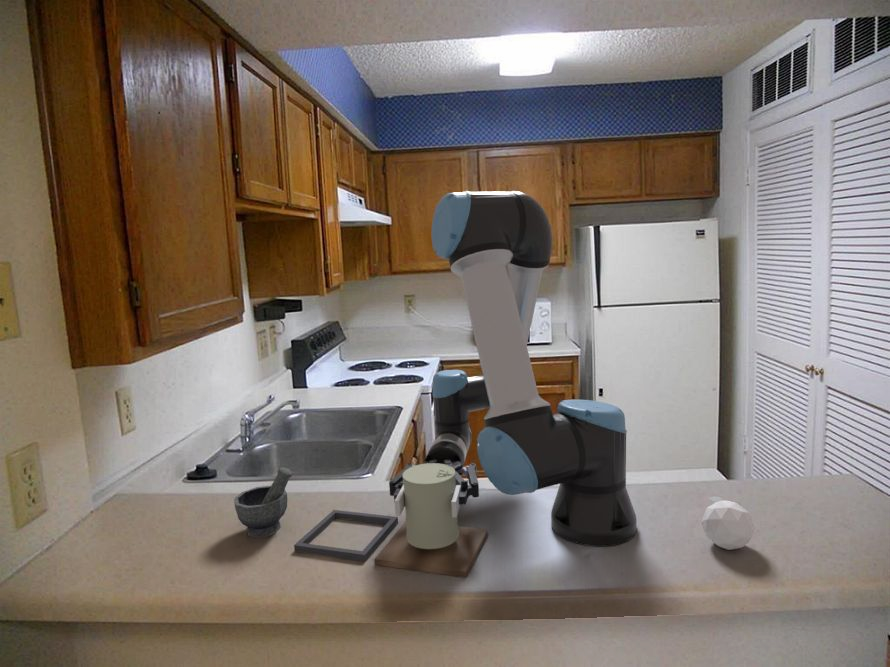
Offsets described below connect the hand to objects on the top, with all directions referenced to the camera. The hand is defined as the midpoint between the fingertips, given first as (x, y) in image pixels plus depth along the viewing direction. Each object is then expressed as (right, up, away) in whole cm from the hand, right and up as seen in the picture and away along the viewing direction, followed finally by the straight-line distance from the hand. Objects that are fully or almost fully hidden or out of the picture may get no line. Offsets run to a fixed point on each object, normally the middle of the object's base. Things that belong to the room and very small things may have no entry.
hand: (425, 508), depth 93 cm
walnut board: (+1, -9, +6) cm, 11 cm away
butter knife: (+58, -6, +8) cm, 58 cm away
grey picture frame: (-15, -9, +12) cm, 21 cm away
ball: (+51, -7, +2) cm, 51 cm away
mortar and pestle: (-31, -9, +16) cm, 36 cm away
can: (+1, -7, +6) cm, 9 cm away
